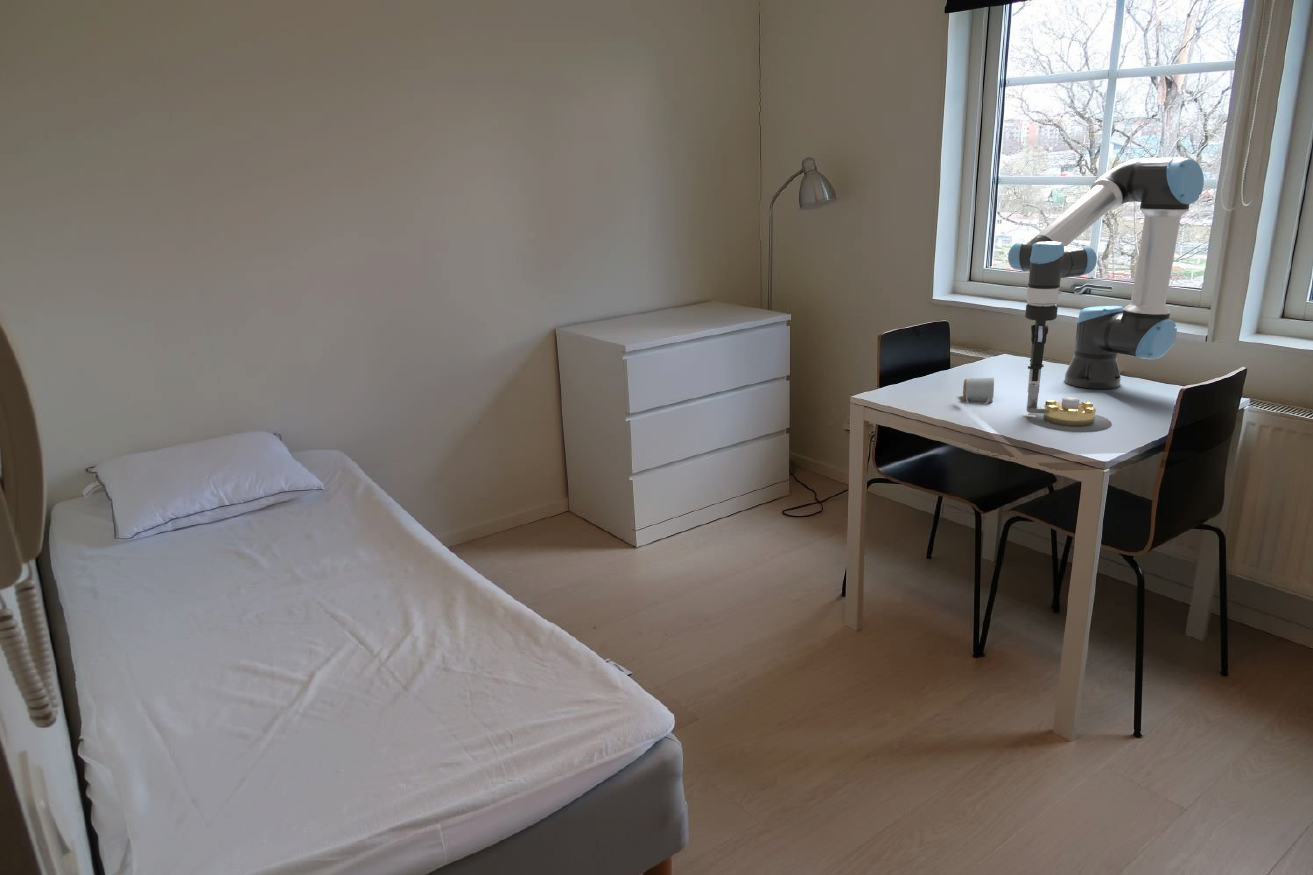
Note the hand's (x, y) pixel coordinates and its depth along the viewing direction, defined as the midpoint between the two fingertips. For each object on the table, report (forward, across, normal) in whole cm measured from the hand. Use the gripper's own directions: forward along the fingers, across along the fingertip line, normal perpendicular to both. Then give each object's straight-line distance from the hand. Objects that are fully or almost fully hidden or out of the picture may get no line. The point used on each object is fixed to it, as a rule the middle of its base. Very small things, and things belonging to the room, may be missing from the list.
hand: (1033, 391), depth 232 cm
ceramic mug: (+7, +8, +13) cm, 17 cm away
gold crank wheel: (+5, -7, -7) cm, 11 cm away
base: (+7, -7, -9) cm, 13 cm away
